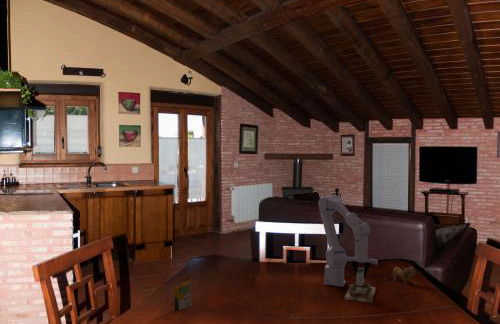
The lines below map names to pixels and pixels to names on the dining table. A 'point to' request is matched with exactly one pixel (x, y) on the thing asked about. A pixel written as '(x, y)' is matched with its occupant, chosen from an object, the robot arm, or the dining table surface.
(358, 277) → the grey pillar with nub
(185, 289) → the crayon box
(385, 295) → the dining table surface
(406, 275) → the lion figurine
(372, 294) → the cradle jig
